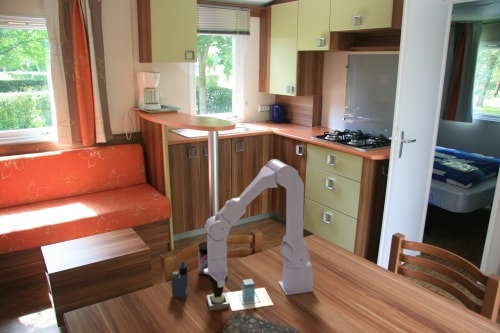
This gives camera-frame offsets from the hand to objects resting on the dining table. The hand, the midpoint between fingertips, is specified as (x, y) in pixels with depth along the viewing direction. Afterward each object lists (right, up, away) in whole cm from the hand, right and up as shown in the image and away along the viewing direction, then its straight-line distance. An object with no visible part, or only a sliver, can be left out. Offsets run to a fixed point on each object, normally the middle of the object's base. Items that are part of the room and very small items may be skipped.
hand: (217, 295), depth 125 cm
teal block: (+10, -2, +3) cm, 10 cm away
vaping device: (-12, -2, +5) cm, 13 cm away
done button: (0, -1, 0) cm, 2 cm away
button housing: (0, -3, +1) cm, 3 cm away
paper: (+10, -2, +3) cm, 10 cm away
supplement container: (-5, +2, +19) cm, 20 cm away
